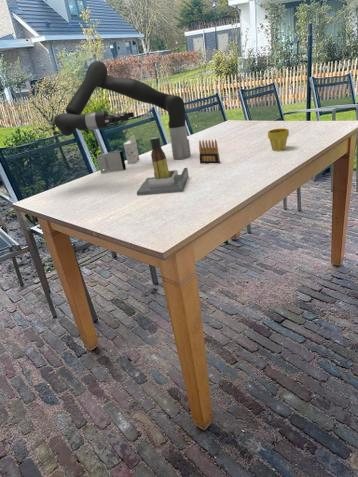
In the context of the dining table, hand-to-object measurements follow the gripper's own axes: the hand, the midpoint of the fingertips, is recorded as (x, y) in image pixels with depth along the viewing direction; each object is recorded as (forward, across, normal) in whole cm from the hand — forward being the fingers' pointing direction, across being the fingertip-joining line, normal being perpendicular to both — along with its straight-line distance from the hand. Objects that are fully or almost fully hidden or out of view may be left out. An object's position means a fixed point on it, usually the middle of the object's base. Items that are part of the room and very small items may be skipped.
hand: (131, 116), depth 165 cm
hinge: (-23, +23, +30) cm, 45 cm away
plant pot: (+66, +33, +30) cm, 80 cm away
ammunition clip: (+31, +19, +30) cm, 47 cm away
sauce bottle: (+12, -12, +29) cm, 33 cm away
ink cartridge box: (-16, +40, +30) cm, 53 cm away
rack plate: (+12, -12, +30) cm, 35 cm away
